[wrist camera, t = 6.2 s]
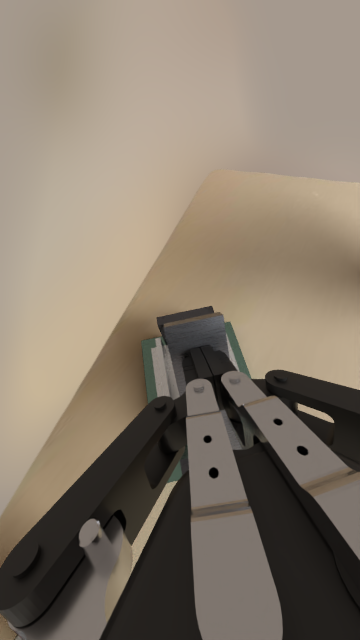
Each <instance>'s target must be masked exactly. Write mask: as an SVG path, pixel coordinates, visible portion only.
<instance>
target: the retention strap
mask: <svg viewBox="0 0 360 640" xmlns="http://www.w3.org/2000/svg"><path fill="white" fill-rule="evenodd" d="M164 331H165V335H166V340H167V344H168V348H169V353H170V357H171V361H172V366H173V370H174V374H175V379H176V383H177V387H178V392H179V396H181V395H182V394H183V393H184V392H185V391H186V382H185V377H184V372H183V367H182V361H183V359H184V358H188V357H191V355H190V350H191V349H196V348H200V347H204V346H209V345H211V347H212V348H213V350H214V351H218V350H220V351H222V352H224V353H225V354H226V355H227V356H228V358H229V359H230V357H229V351H228V344H227V337H226V331H225V324H224V317H223V314H221V313H220V312H217V313H212V314H208V315H203V316H198V317H194V318H189V319H184V320H180V321H175V322H170V323H166V324H164ZM218 408H219V407H218ZM221 414H222V417H223V420H224V424H225V427H226V430H227V434H228V437H229V440H230V444H231V447H232V450H242V448H241V446H240V444H239V442H238V440H237V438H236V436H235V435H234V433H233V431H232V429H231V427H230V425H229V423H228V420H227V414H226V411H225V410H222V411H221Z"/></svg>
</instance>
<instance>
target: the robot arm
mask: <svg viewBox="0 0 360 640" xmlns="http://www.w3.org/2000/svg"><path fill="white" fill-rule="evenodd" d="M190 355H191V357H188V358H184V359H183V361H182V367H183V372H184V377H185V382H186V391H185V392H184V393H183V394H182V395H181V396H180V397H178V398H176V399H175V400H173V399H172V398H171V397H169V396H160V397H157V398H155V399H153V400H152V401H151V402H150V403H149V404H148V405H147V406H146V407H145V408H144V409H143V410H142V411H141V412H140V413H139V414H138V416H137V417H136V418H135V419H134V420H133V421H132V422H131V423H130V424H129V425H128V426H127V427H126V428H125V429H124V431H123V432H122V433H121V434H120V435H119V436H118V437H117V438H116V439H115V440H114V441H113V442H112V443H111V444H110V445H109V447H108V448H107V449H106V450H105V451H104V452H103V453H102V454H101V455H100V456H99V457H98V458H97V459H96V460H95V462H94V463H93V464H92V465H91V466H90V467H89V468H88V469H87V470H86V471H85V472H84V473H83V474H82V475H81V476H80V478H79V479H78V480H77V481H76V482H75V483H74V484H73V485H72V486H71V487H70V488H69V489H68V490H67V491H66V493H65V494H64V495H63V496H62V497H61V498H60V499H59V500H58V501H57V502H56V503H55V504H54V505H53V506H52V507H51V509H50V510H49V511H48V512H47V513H46V514H45V515H44V516H43V517H42V518H41V519H40V520H39V521H38V522H37V524H36V525H35V526H34V527H33V528H32V529H31V530H30V531H29V532H28V533H27V534H26V535H25V536H24V537H23V539H22V540H21V541H20V542H19V543H18V544H17V545H16V546H15V547H14V549H13V550H12V551H11V552H10V554H9V555H8V557H7V558H6V560H5V561H4V563H3V565H2V566H1V568H0V614H1V615H2V616H3V617H4V618H5V619H6V620H7V621H8V624H9V626H10V628H11V629H12V630H13V631H14V632H15V633H16V634H17V635H18V636H19V637H20V638H21V639H22V640H360V390H357V389H353V388H349V387H346V386H342V385H338V384H334V383H330V382H327V381H323V380H319V379H315V378H311V377H307V376H304V375H300V374H296V373H292V372H288V371H284V370H272V371H269V372H268V373H267V374H266V375H265V379H250V378H249V377H248V376H247V375H246V374H245V373H243V372H240V371H238V370H237V369H236V368H235V366H234V365H233V363H232V362H231V361H230V359H229V358H228V356H227V355H226V354H225V353H224V352H222V351H220V350H218V351H214V350H213V348H212V347H211V345H209V346H204V347H200V348H196V349H191V350H190ZM298 403H299V404H302V405H305V406H307V407H310V408H313V409H316V410H318V411H321V412H324V413H326V414H328V415H329V416H330V417H331V418H332V419H333V420H334V423H331V422H328V421H325V420H323V419H320V418H317V417H315V416H312V415H310V414H307V413H305V412H302V411H299V410H298ZM218 407H219V408H218ZM222 410H225V411H226V414H227V420H228V423H229V425H230V427H231V429H232V431H233V433H234V435H235V436H236V438H237V440H238V442H239V444H240V446H241V448H242V450H232V447H231V444H230V440H229V437H228V434H227V430H226V427H225V424H224V420H223V417H222V414H221V411H222ZM187 444H188V460H189V470H188V471H186V472H185V473H184V474H183V475H182V476H181V478H180V479H179V480H178V481H177V483H176V485H175V486H174V488H173V489H172V491H171V493H170V495H169V497H168V499H167V501H166V503H165V506H164V508H163V510H162V512H161V514H160V516H159V518H158V520H157V522H156V524H155V526H154V528H153V530H152V532H151V534H150V536H149V538H148V540H147V542H146V545H145V547H144V549H143V551H142V553H141V555H140V557H139V559H138V561H137V563H136V565H135V567H134V569H133V571H132V573H131V575H130V572H131V568H132V561H133V553H132V547H131V546H132V544H133V542H134V540H135V539H136V537H137V535H138V533H139V531H140V530H141V528H142V526H143V524H144V523H145V521H146V519H147V517H148V515H149V514H150V512H151V510H152V508H153V506H154V505H155V503H156V501H157V499H158V498H159V496H160V494H161V492H162V490H163V489H164V487H165V485H166V483H167V482H168V480H169V478H170V476H171V474H172V473H173V471H174V469H175V467H176V466H177V464H178V462H179V460H180V458H181V457H182V455H183V453H184V451H185V446H186V445H187ZM129 576H130V577H129Z"/></svg>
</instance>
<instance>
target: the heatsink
mask: <svg viewBox="0 0 360 640" xmlns="http://www.w3.org/2000/svg"><path fill="white" fill-rule="evenodd" d="M212 313H214V311H213V308H212V306H209V307H204V308H199V309H195V310H190V311H185V312H180V313H176V314H171V315H166V316H162V317H157V324H158V327H159V330H160V332H161V334H162V336H161V337H157V338H152V339H147V340H143V341H141V344H142V353H143V362H144V371H145V381H146V390H147V399H148V404H149V403H150V402H151V401H152V400H153V399H155V398H157V397H160V396H169V397H171V398H172V399H173V400H175V399H176V398H178V397H180V396H179V392H178V387H177V383H176V379H175V374H174V370H173V366H172V361H171V357H170V353H169V348H168V344H167V340H166V335H165V331H164V324H166V323H170V322H175V321H180V320H184V319H189V318H194V317H198V316H203V315H208V314H212ZM224 324H225V331H226V337H227V344H228V351H229V357H230V361H231V362H232V363H233V365H234V366H235V368H236V369H237V370H238V371H240V372H243V373H245V374H246V375H247V376H248V377H249V378H250V379H251V376H250V374H249V371H248V368H247V365H246V363H245V360H244V357H243V355H242V352H241V349H240V347H239V344H238V341H237V339H236V336H235V333H234V331H233V328H232V325H231V323H230V322H226V323H224ZM188 470H189V460H188V444H187V445H186V446H185V451H184V453H183V455H182V457H181V458H180V460H179V462H178V464H177V466H176V467H175V469H174V471H173V473H172V474H171V476H170V478H169V480H168V482H167V483H169V482H173V481H177V480H179V479H180V478H181V476H182V475H183V474H184V473H185V472H186V471H188Z"/></svg>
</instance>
